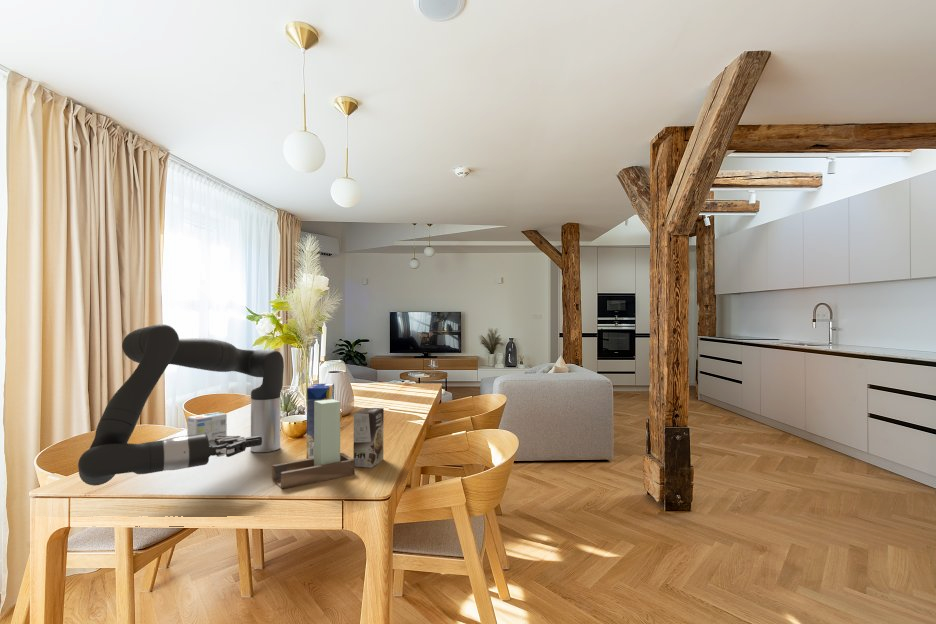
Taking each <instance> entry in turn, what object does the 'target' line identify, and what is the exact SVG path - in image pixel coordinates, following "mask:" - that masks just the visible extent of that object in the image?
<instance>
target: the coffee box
mask: <svg viewBox="0 0 936 624" xmlns="http://www.w3.org/2000/svg"><path fill="white" fill-rule="evenodd" d="M384 417H385V416H384V407H365V408H362V409H359V410H357V411H355V412H353V451H352V452H353V458H352V459H354V460H355V467H360V468H369V469H371V468H374V467H375V466H376V465H377V464H379V463H380V462H382V461H383V460H384V428H385V427H384V423H385V422H384V420H385V419H384Z"/></svg>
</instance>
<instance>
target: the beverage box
mask: <svg viewBox="0 0 936 624" xmlns="http://www.w3.org/2000/svg"><path fill="white" fill-rule="evenodd" d="M329 399H334V400H335V384H334V383H313V384H311V385H310V386H308V387H307V389H306V459H310V458H314V401H320V400H329Z"/></svg>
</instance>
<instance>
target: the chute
mask: <svg viewBox="0 0 936 624" xmlns="http://www.w3.org/2000/svg"><path fill="white" fill-rule="evenodd" d="M355 467H356V466H355V460H354V459H353V458H352V457H350V456H348V455H346V454H345V453H343V452H340V462H335V463H329V464H324V465H319V466H314V458H308V459H307V458H305V459H300V460H294V461H293V460H292V461H289V462H282V463H276V464H272V465H271V480H272V481H273V482H274V483H275V484H276V485H277V486H278V487H279V488H280V489H281V490H283V489H285V490H286V489H289V488H294V487H300V486H305V485H309V484H314V483H319V482H323V481H328V480H334V479H339V478H342V477H349V476H352V475H355V472H356V470H355V469H356V468H355Z"/></svg>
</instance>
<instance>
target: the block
mask: <svg viewBox="0 0 936 624" xmlns="http://www.w3.org/2000/svg"><path fill="white" fill-rule="evenodd" d="M340 453H341V401H339V400H337V399H335V398H334V399H329V400H320V401H314V466H319V465H324V464H329V463H335V462H340Z"/></svg>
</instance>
